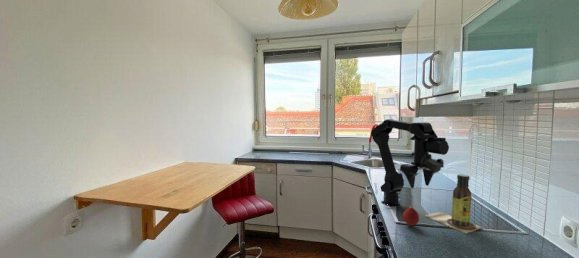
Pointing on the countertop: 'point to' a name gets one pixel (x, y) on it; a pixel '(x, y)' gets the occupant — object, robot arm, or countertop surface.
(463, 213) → the sauce bottle
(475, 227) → the beige flat board
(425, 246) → the countertop surface
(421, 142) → the robot arm
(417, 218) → the onion
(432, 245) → the countertop surface
